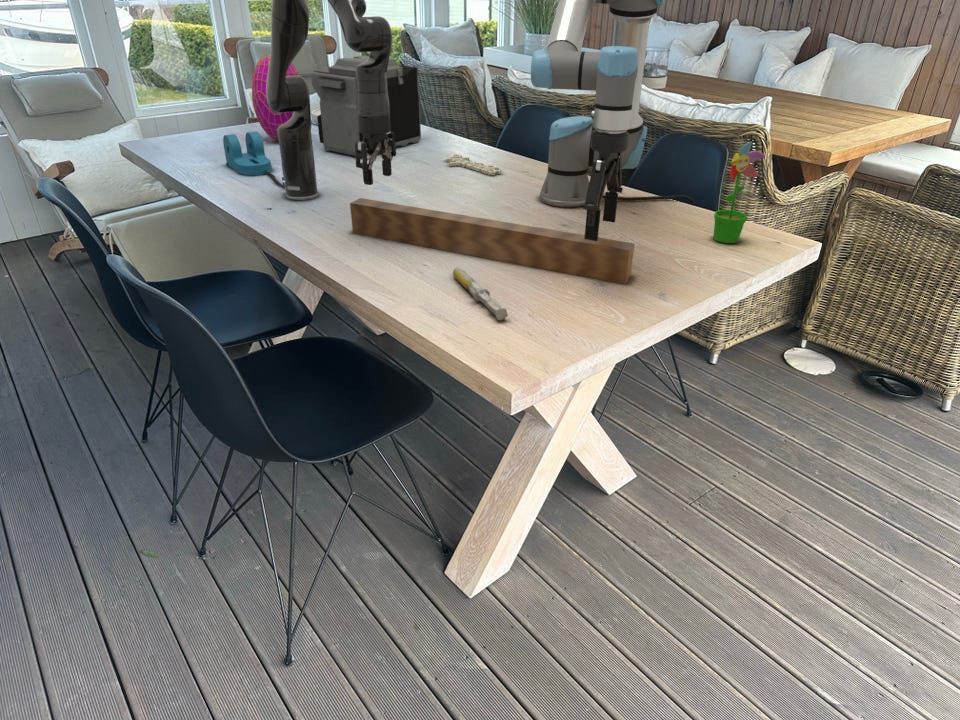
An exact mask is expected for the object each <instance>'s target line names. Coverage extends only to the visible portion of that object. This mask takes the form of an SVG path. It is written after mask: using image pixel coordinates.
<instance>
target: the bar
mask: <svg viewBox="0 0 960 720" xmlns="http://www.w3.org/2000/svg"><path fill="white" fill-rule="evenodd" d="M349 207H350V208H349V209H350V218H351V230H352V234H356V235H361V236H366V237H372V238H377V239H381V240H389V241H393V242H399V243H403V244H409V245H415V246H420V247H426V248H430V249H436V250H441V251H447V252H451V253H457V254H463V255H468V256H474V257H478V258H483V259H488V260H495V261H500V262H505V263H510V264H515V265H521V266H527V267H532V268H537V269H542V270H548V271H551V272H552V271H553V272H557V273H563V274H570V275H574V276H578V277H579V276H580V277H585V278H590V279H596V280H600V281H606V282H612V283H617V284H622V285H625V284H627V282H628V281H629V279H630V278H631V275H632V269H633V260H634V251H635V246H636V245H635V243H634V242H628V241H623V240H616V239H610V238H605V237H599V236H598V240H597V241H593V240H587V239H584V237H585V234H581V233H573V232H567V231H562V230H556V229H551V228H545V227H539V226H532V225H526V224H520V223H515V222H507V221H501V220H497V219H490V218H484V217H483V218H482V217H477V216H471V215H465V214H461V213H459V214H458V213H452V212H448V211H447V212H446V211H440V210H436V209H435V210H434V209H429V208H424V207H416V206H410V205H405V204H398V203H393V202H386V201H381V200H375V199H368V198H362V197H360V198H357V199H356V200H354V201H351V202H349Z"/></svg>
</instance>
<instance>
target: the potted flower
mask: <svg viewBox="0 0 960 720" xmlns="http://www.w3.org/2000/svg"><path fill="white" fill-rule="evenodd" d="M752 145H753V141H749V142H747V143H744V144H743V145H742V146H741V148H740V149H739V151H738V152H736V153H735V154H734V155H733V157H732V158H731V159H732V160H731V162H730V164H731V167H730V169H729V177H730V179H731V181H732V182H735V186H734V190H733V194H727V196H726V197H725V201H726V202H728V203H731V205H730V209H719V210H716V211H714V214H713V215H714V216H713V218H714V225H713V240H715V241H716V242H719V243H723V244H735V243H738V242H739V240H740V237H741V234H742V231H743V227H744V225H745V223H746V221H747V218H748V215H747V214H746V213H744V212H742V211H740V210H734V208H735V203H736V198H737V194H739V193H740V192H742V191H743V190H744V186H739V183H740V178H741V173H742V175H743V176H745V177H747V178H756V177H759V176H760V174H759V173H758V170H757V169H756V168H755V167H754V165H752V164H751V163H754V162H757V161H759V160H760V159H763V158H765V157H766V154H765V153H763V152H761V151H759V150H751V148H752Z"/></svg>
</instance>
